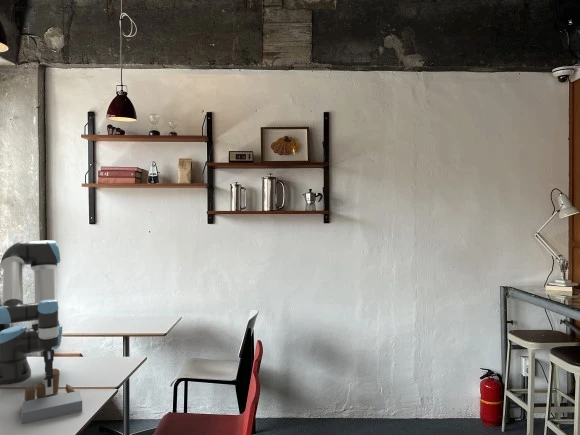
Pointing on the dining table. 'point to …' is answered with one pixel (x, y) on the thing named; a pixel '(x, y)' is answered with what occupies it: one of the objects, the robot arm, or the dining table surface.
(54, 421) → the dining table surface
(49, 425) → the dining table surface
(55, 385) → the wooden block set
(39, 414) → the grey rectangular slab
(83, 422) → the dining table surface
